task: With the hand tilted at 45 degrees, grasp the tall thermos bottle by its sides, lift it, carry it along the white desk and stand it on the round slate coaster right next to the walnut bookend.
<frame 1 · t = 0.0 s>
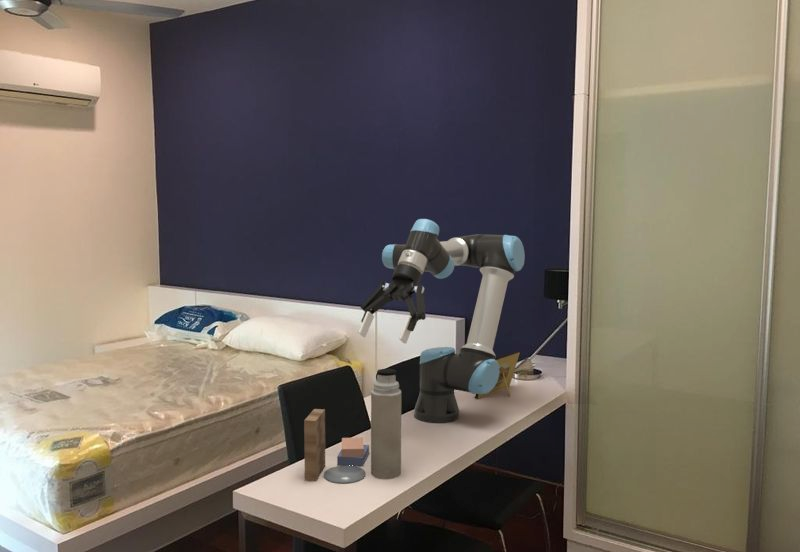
hand: (381, 338, 182), 36 cm above the table, tool tilted 35°, fingers open, 13 cm apart
picture frame: (501, 395, 258), on the table
thermos bottle: (385, 473, 183), on the table
coaster: (344, 475, 181), on the table
bookend: (315, 473, 182), on the table
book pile: (353, 459, 192), on the table
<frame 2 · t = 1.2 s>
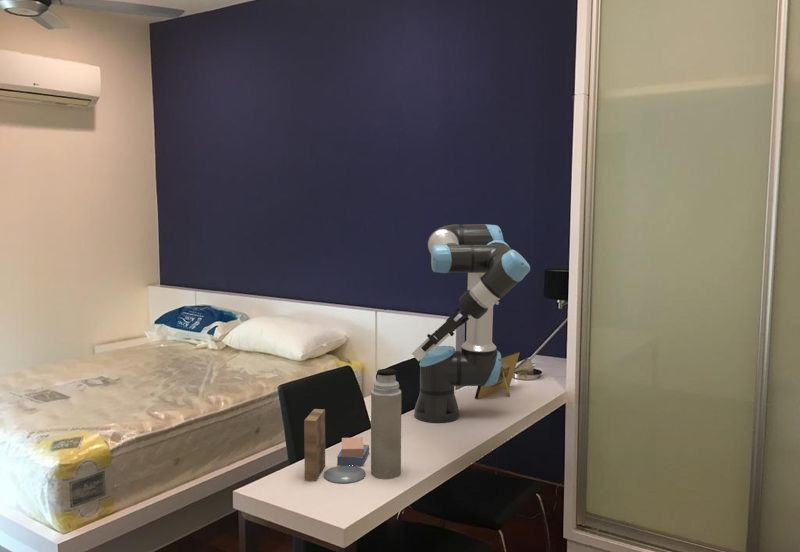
hand: (422, 352, 184), 32 cm above the table, tool tilted 45°, fingers open, 13 cm apart
nothing on the table moved.
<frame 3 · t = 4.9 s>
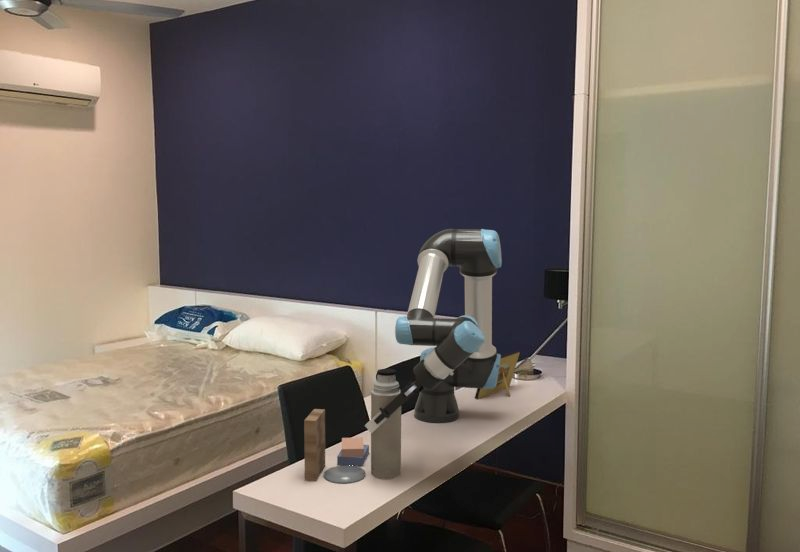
hand: (374, 423, 182), 13 cm above the table, tool tilted 45°, fingers closed on thermos bottle, 8 cm apart
thermos bottle: (385, 473, 183), on the table, touching gripper
everything else where it was.
when the fingers open (14 cm above the table, at t = 10.3 s): thermos bottle stays where it is, resting on coaster.
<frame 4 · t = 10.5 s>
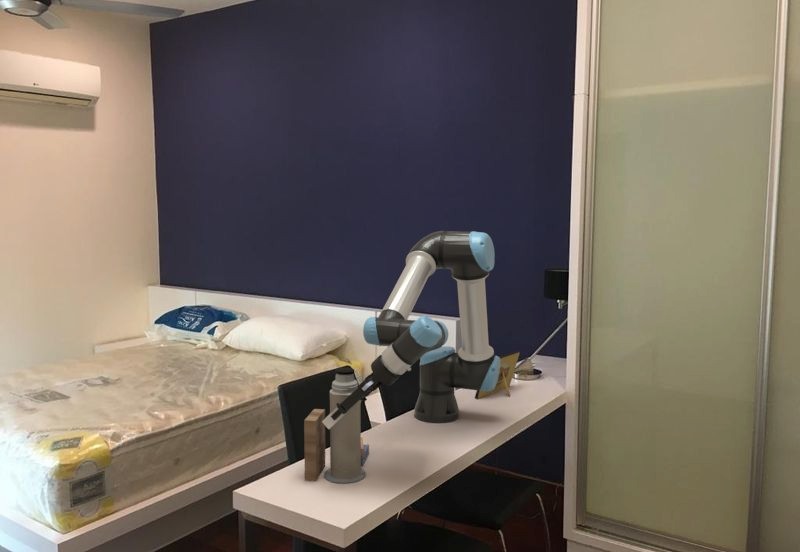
hand: (334, 418, 180), 15 cm above the table, tool tilted 45°, fingers open, 10 cm apart
thermos bottle: (345, 473, 181), resting on coaster
everything else where it was.
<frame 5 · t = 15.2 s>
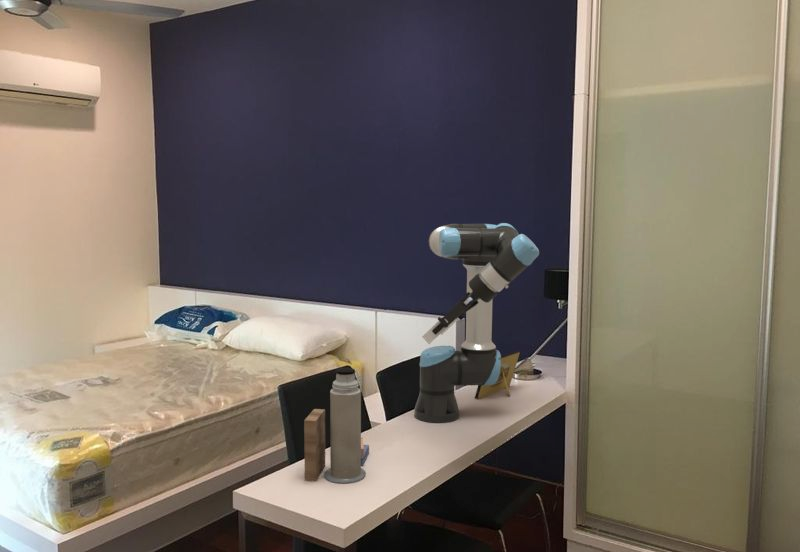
hand: (432, 335, 187), 36 cm above the table, tool tilted 45°, fingers open, 13 cm apart
nothing on the table moved.
at the end: thermos bottle 0.3 cm from the coaster (horizontally); thermos bottle tilted 0°; the gripper is holding nothing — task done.
